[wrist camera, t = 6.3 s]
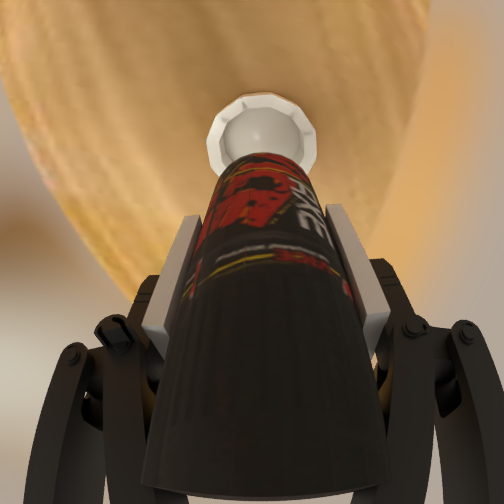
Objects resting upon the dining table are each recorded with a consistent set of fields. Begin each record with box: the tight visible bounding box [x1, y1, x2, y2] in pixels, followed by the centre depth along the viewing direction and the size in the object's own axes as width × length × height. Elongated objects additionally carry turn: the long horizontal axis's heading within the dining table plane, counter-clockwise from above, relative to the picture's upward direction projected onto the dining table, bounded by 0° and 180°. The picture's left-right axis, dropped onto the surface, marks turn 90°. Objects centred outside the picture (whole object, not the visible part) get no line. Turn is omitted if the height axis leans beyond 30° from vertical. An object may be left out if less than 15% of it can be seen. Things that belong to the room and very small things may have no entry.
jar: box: [206, 92, 317, 177], centre depth 27 cm, size 10×10×4 cm
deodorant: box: [140, 152, 393, 501], centre depth 11 cm, size 6×6×15 cm
